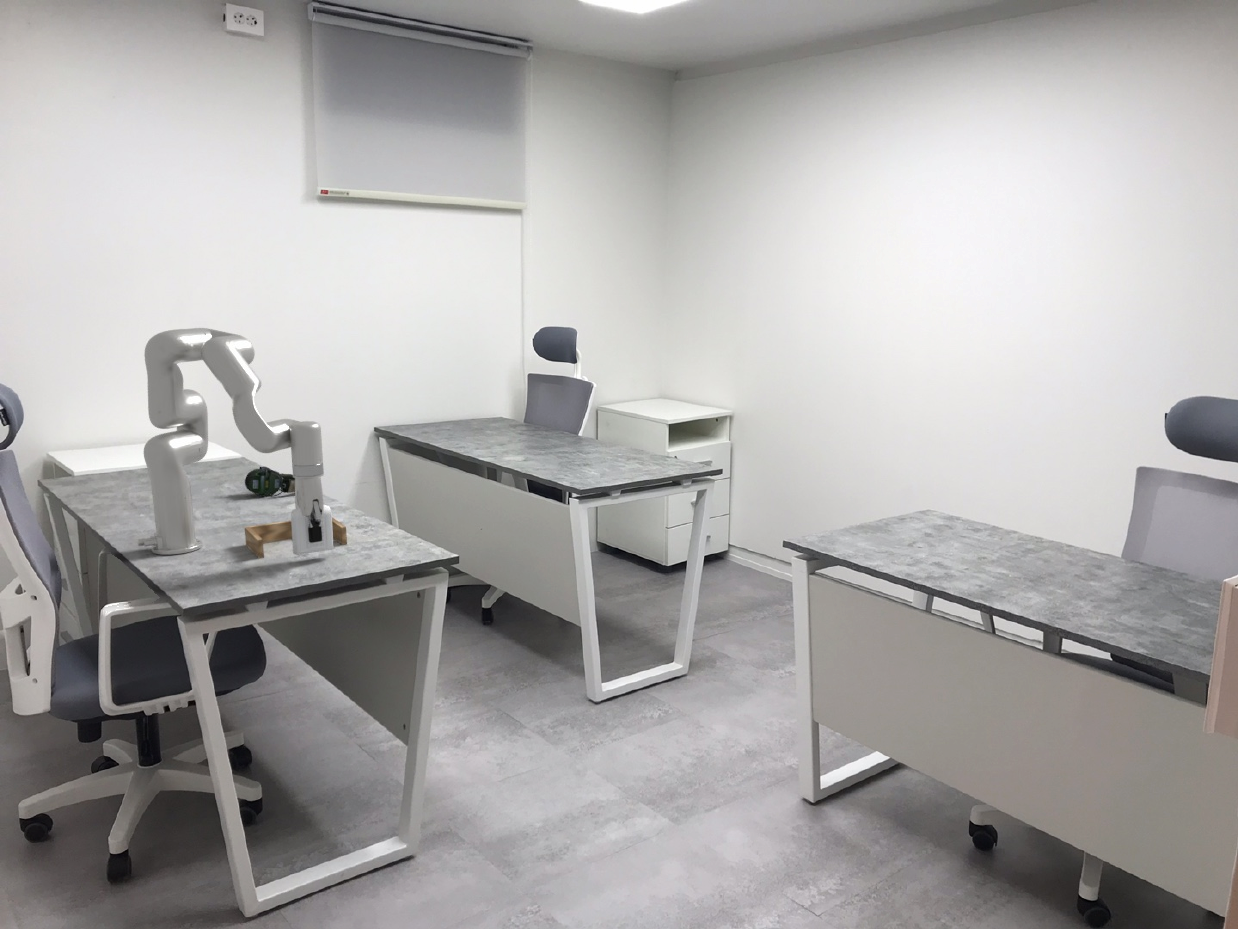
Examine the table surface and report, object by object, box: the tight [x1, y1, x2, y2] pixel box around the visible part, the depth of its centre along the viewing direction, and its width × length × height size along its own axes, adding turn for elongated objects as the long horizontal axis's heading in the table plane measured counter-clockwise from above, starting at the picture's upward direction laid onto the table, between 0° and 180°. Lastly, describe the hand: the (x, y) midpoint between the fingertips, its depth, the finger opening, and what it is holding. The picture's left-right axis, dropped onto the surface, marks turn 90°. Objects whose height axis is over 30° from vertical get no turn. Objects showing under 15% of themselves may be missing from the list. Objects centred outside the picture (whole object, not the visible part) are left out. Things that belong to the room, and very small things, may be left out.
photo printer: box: [290, 504, 334, 556], centre depth 247 cm, size 10×4×12 cm, turn 124°
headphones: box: [244, 466, 295, 498], centre depth 324 cm, size 13×13×20 cm
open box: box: [244, 517, 348, 559], centre depth 263 cm, size 23×16×5 cm
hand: (312, 538), depth 248 cm, fingers closed on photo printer, 4 cm apart
